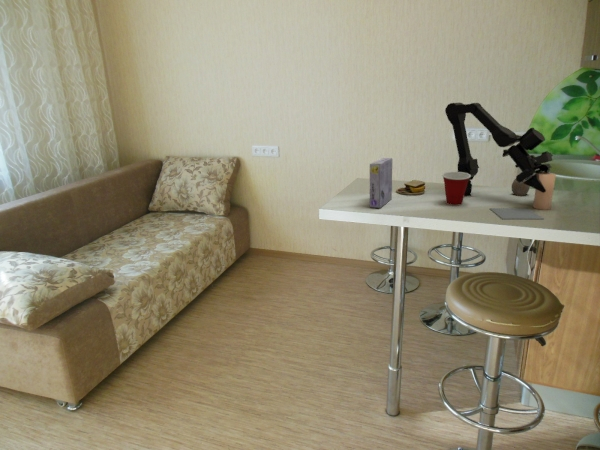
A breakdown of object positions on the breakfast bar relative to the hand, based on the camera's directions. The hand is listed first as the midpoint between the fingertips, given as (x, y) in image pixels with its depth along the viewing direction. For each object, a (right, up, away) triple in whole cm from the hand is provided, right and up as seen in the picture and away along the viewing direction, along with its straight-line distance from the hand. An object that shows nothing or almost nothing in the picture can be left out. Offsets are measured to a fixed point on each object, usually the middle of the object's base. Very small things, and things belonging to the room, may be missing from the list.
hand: (548, 190), depth 166 cm
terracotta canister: (-1, -6, +3) cm, 7 cm away
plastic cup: (-31, -4, +13) cm, 34 cm away
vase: (+1, 0, +24) cm, 24 cm away
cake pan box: (-60, -4, +16) cm, 62 cm away
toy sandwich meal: (-43, +2, +34) cm, 55 cm away
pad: (-14, -9, -4) cm, 18 cm away
